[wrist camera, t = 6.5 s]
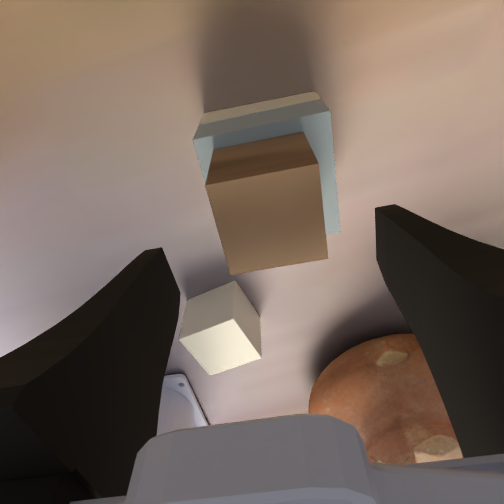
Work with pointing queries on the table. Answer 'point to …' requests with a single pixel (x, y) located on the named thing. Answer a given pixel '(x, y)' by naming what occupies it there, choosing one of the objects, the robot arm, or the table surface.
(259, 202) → the walnut cube
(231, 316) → the cream cube
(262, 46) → the table surface
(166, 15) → the table surface
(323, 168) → the tower top
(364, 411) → the ceramic jug
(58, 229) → the table surface
